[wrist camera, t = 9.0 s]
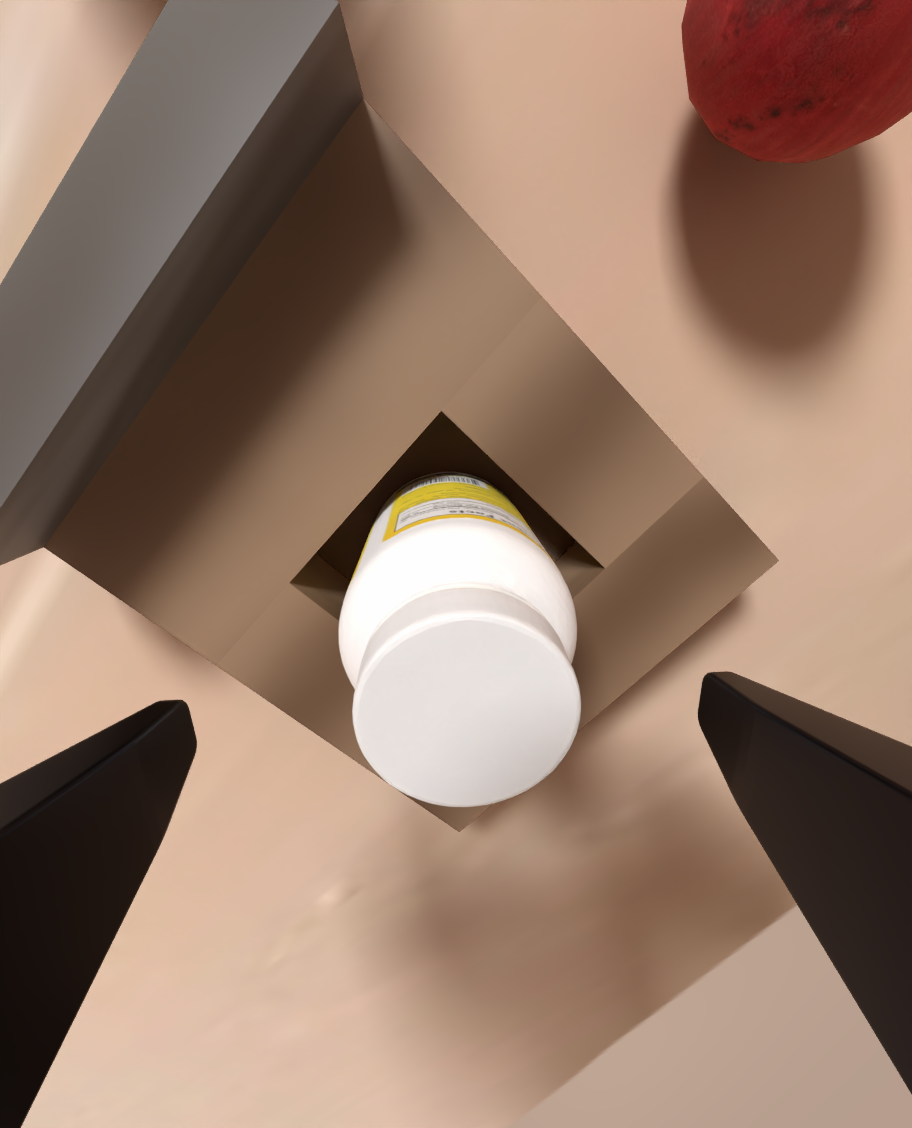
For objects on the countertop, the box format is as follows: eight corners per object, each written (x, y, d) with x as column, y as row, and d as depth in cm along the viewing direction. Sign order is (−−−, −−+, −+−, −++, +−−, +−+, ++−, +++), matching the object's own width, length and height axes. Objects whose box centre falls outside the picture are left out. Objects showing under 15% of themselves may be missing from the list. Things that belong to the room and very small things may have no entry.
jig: (725, 532, 18) (857, 600, 12) (456, 772, 21) (463, 913, 16) (319, 92, 14) (236, -116, 8) (52, 479, 17) (-144, 530, 11)
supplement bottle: (450, 643, 19) (464, 883, 10) (339, 547, 18) (235, 725, 9) (558, 544, 18) (684, 713, 9) (448, 433, 17) (464, 497, 7)
